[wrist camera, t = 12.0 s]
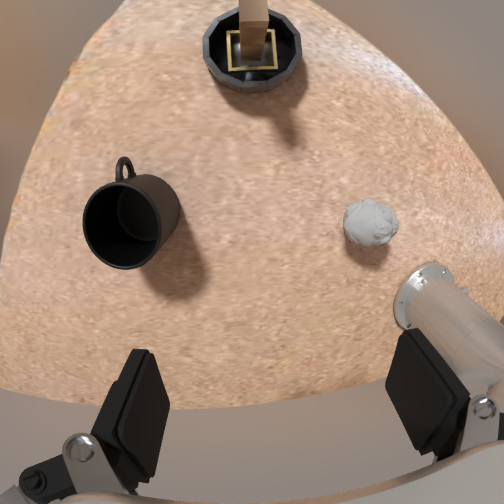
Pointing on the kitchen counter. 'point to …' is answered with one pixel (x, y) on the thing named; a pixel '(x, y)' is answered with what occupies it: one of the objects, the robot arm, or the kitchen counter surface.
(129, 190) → the mug
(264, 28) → the brown rectangular bar
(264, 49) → the dark grey round tray
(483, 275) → the kitchen counter surface
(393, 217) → the frog figurine
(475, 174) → the kitchen counter surface
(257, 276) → the kitchen counter surface
